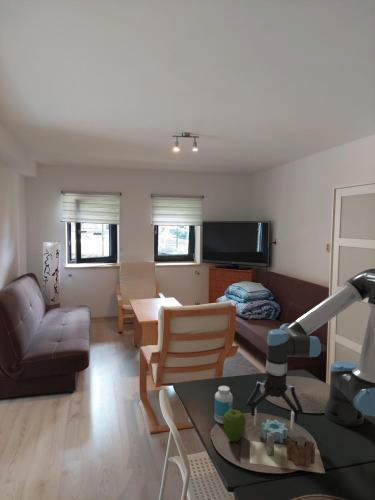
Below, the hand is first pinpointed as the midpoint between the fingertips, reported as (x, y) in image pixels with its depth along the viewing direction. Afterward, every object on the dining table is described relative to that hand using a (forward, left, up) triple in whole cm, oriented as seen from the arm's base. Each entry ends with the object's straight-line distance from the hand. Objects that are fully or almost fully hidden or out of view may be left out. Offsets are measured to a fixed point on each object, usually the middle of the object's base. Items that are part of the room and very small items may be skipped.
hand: (273, 426), depth 130 cm
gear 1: (0, 0, -5) cm, 5 cm away
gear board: (-3, +11, -5) cm, 13 cm away
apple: (+15, +4, -5) cm, 16 cm away
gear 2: (-8, +11, -4) cm, 15 cm away
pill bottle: (+20, -9, -5) cm, 22 cm away
